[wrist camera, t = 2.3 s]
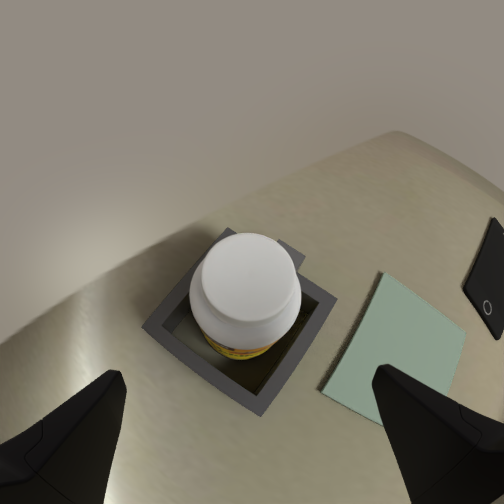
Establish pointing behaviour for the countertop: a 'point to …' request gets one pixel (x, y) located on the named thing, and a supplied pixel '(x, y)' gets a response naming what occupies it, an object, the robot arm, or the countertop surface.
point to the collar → (161, 328)
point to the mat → (395, 347)
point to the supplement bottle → (245, 295)
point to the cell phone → (489, 280)
